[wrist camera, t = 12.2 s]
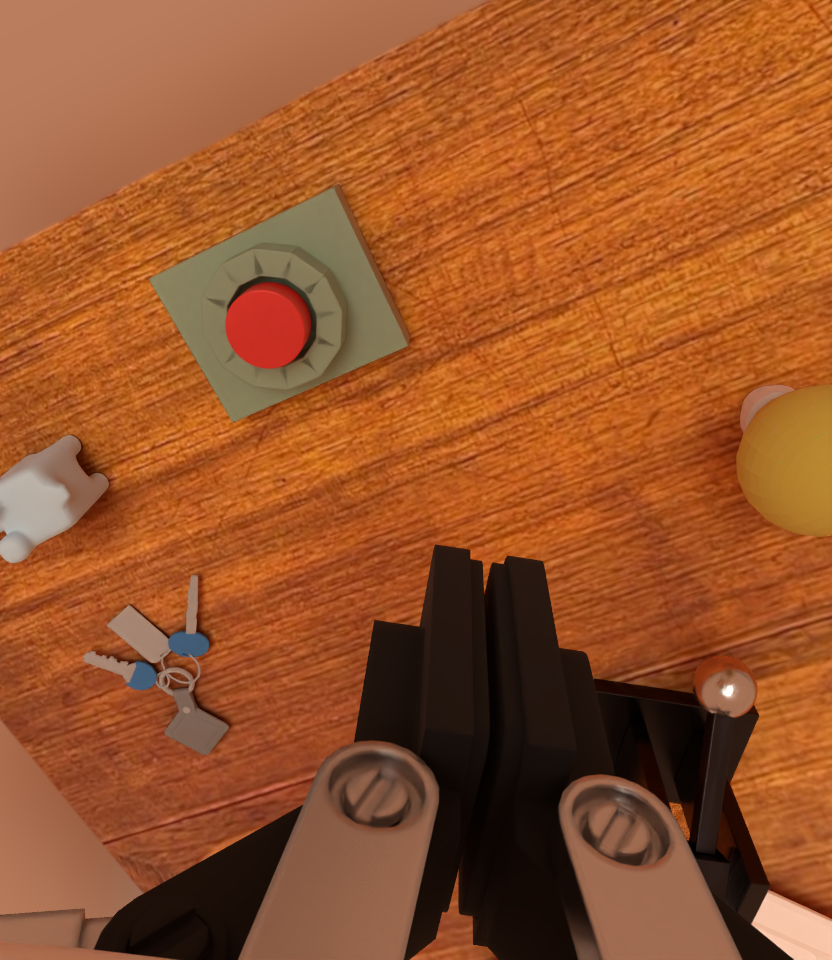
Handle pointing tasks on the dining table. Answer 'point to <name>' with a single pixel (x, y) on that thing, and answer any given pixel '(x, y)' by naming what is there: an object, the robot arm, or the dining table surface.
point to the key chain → (151, 643)
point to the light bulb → (788, 457)
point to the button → (268, 325)
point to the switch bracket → (682, 769)
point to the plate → (795, 928)
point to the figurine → (45, 497)
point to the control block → (307, 270)
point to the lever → (717, 758)
